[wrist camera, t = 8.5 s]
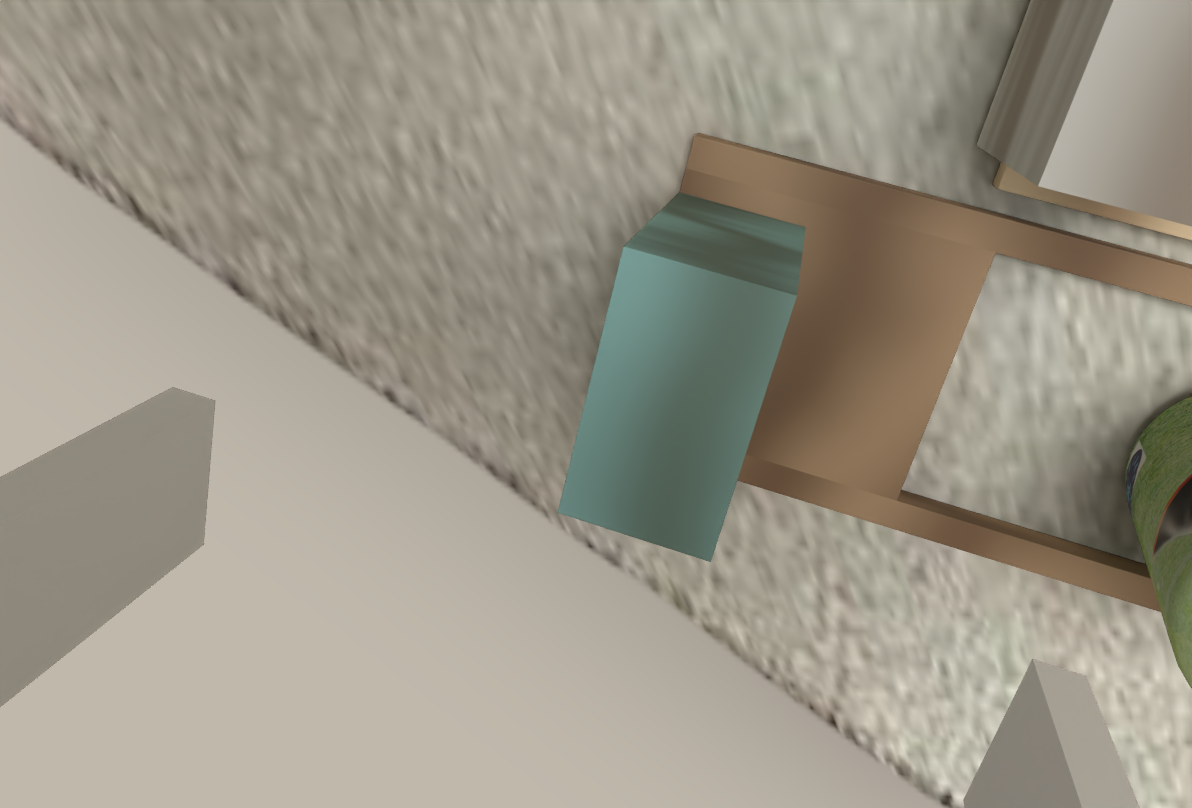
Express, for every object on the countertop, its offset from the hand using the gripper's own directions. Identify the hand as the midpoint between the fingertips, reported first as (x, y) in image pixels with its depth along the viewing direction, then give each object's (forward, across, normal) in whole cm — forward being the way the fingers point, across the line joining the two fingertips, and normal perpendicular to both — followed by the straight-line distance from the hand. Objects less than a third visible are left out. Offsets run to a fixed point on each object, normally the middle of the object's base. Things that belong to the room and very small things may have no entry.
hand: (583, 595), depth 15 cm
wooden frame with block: (+18, +10, 0) cm, 21 cm away
